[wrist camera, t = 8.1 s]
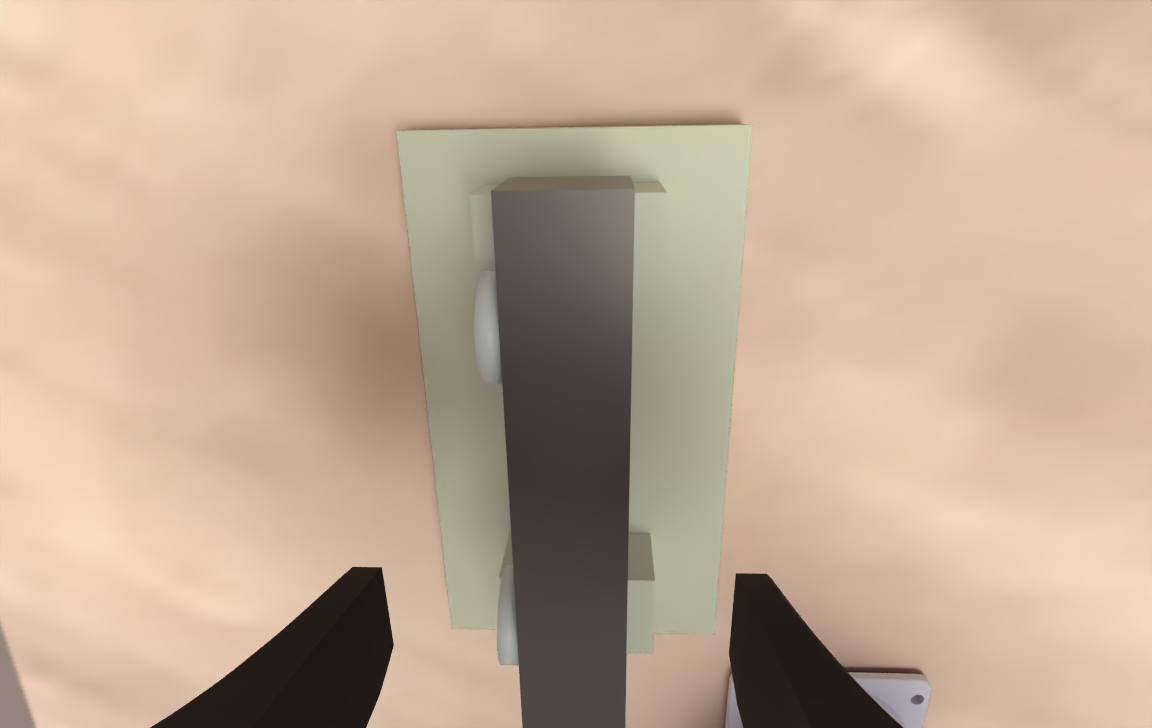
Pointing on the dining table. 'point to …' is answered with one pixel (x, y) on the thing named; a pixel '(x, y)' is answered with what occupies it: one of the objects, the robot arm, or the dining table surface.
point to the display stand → (659, 349)
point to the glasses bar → (563, 437)
